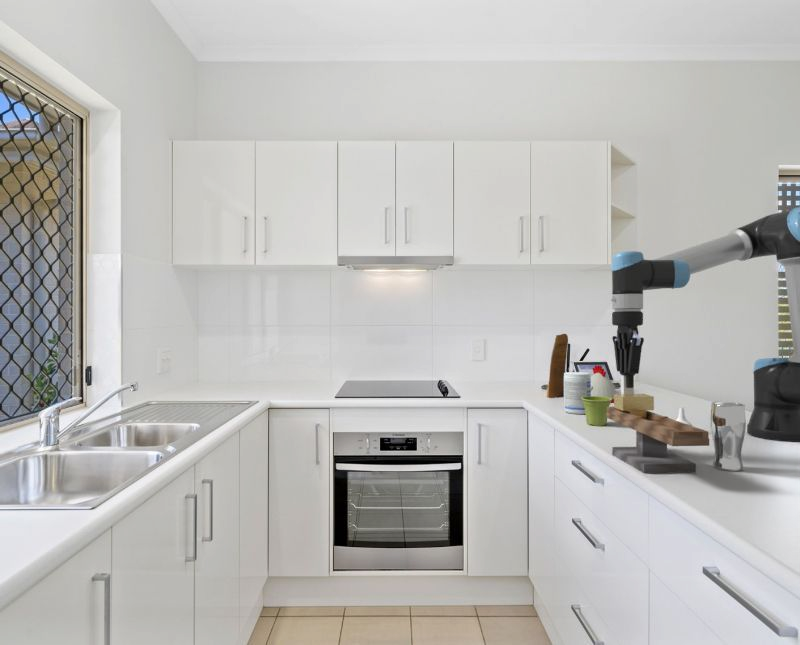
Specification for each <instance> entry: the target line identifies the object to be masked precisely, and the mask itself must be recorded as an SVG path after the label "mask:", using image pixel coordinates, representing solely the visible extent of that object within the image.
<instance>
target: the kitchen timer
mask: <svg viewBox="0 0 800 645" xmlns="http://www.w3.org/2000/svg"><path fill="white" fill-rule="evenodd" d="M592 371H593V374H592V375H590V377H591V396H601V397H608V398H611V399H612V401H611V402H610V404H614V394H617V391H616V385H615V384H614V383H613V382H612V379H610V378H609V376H608V375H607V371H605V368H603V367H602V365H599V364H598V365H594V367H592Z"/></svg>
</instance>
